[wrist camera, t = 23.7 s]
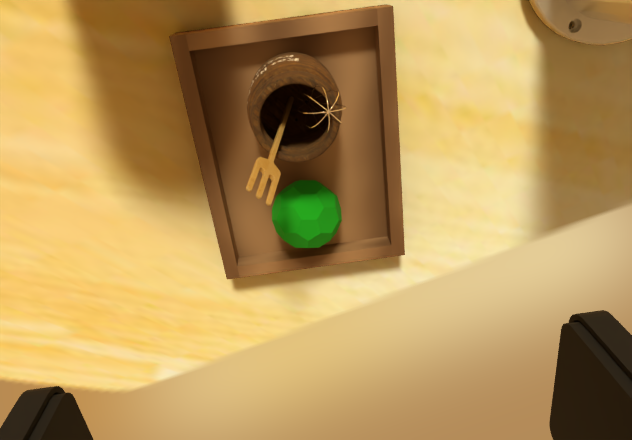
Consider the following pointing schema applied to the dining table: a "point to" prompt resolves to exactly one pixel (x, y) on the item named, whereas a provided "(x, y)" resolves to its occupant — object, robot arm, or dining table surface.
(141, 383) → the dining table surface
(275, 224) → the polyhedron
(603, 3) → the robot arm
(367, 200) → the tray
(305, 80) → the utensil holder
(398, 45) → the dining table surface
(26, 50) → the dining table surface
